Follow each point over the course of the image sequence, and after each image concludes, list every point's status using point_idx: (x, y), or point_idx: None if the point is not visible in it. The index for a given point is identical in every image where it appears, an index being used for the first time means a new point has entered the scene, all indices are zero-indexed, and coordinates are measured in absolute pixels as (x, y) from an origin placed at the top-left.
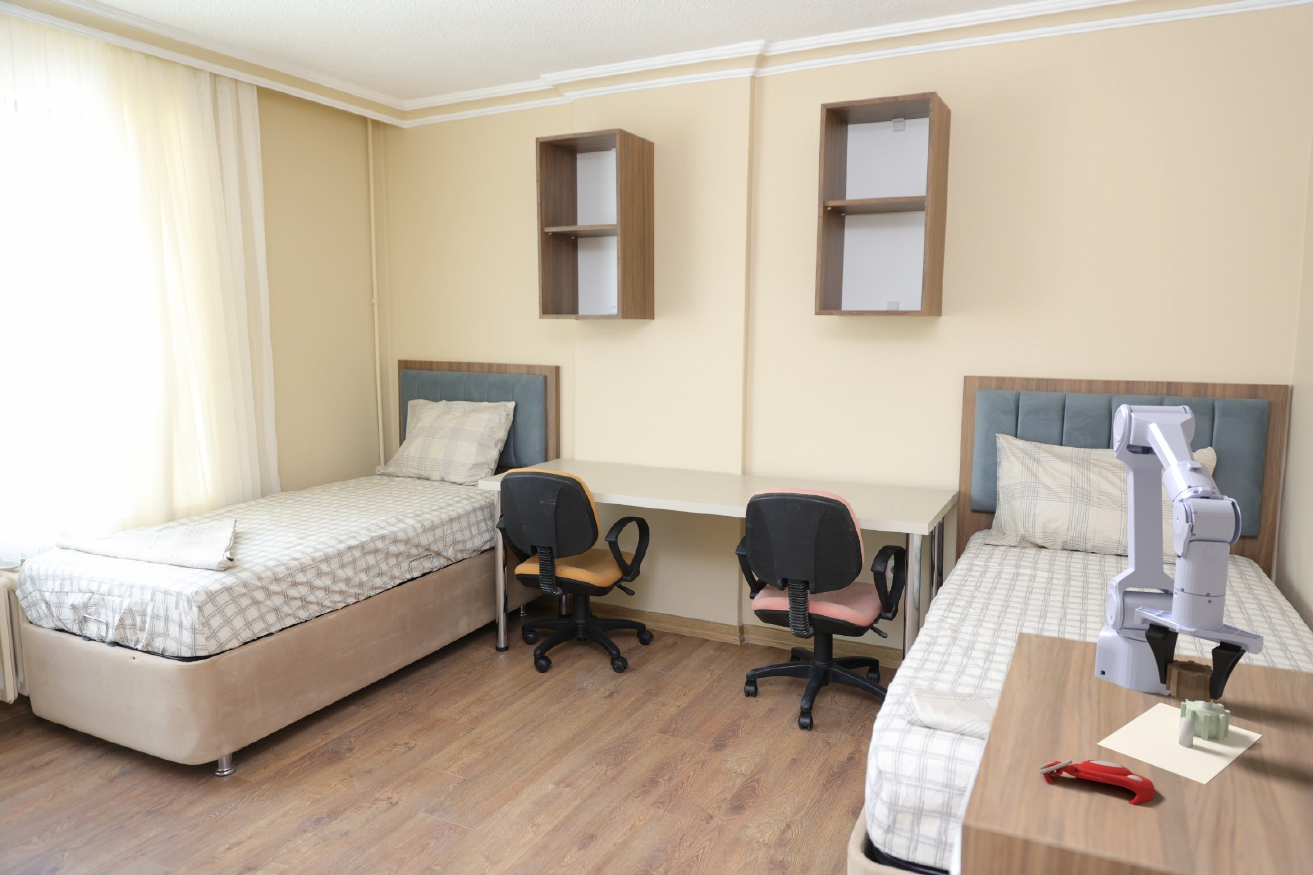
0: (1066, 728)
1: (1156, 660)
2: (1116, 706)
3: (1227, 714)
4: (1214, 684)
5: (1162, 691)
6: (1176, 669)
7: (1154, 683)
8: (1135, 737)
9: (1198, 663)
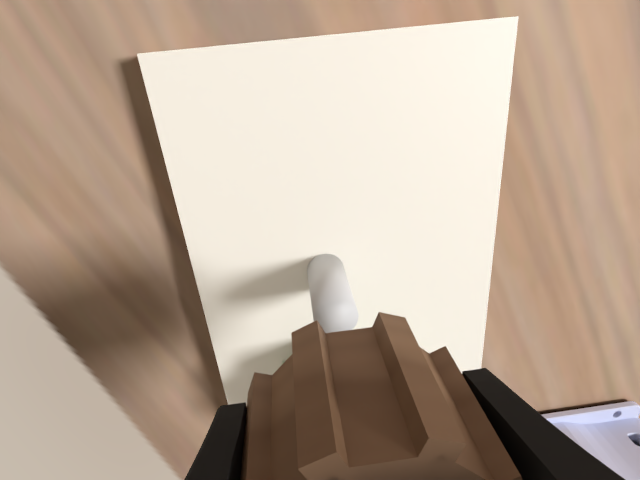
0: (627, 98)
1: (606, 468)
2: (550, 345)
3: None
4: (209, 478)
5: None
6: (448, 457)
7: None
8: (442, 188)
9: None
